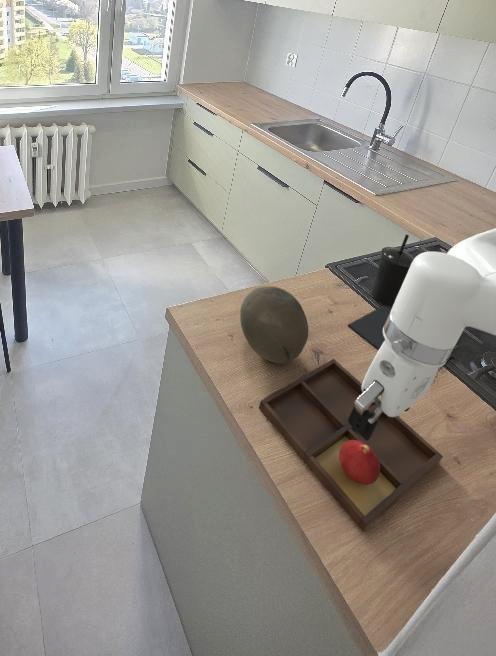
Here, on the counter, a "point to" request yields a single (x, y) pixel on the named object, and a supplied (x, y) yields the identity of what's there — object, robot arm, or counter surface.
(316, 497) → the counter surface
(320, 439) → the tray
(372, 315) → the mat
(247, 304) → the grey-brown oval ball
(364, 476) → the onion
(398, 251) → the drinking cup
